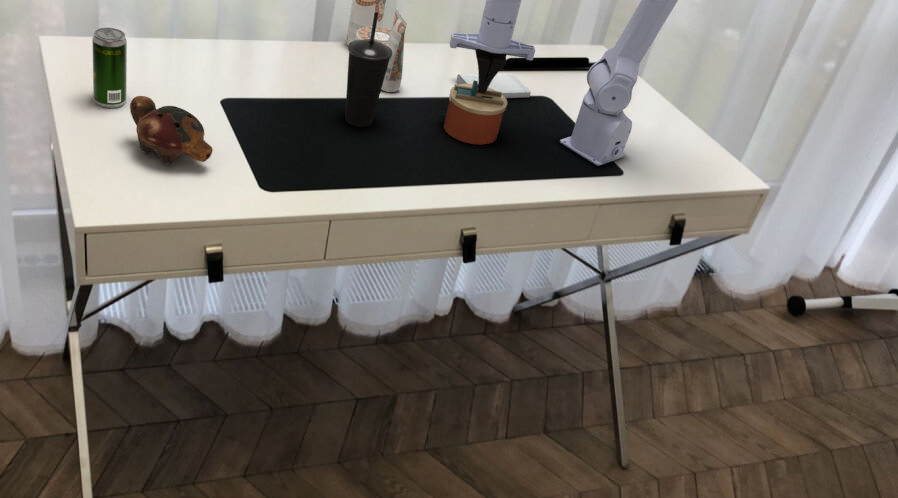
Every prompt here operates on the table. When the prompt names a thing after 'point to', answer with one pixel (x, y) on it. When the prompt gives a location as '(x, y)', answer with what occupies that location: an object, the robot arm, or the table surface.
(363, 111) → the drinking cup
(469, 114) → the brown and beige cylinder
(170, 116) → the decorative turtle
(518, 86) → the hard drive
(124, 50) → the beer can
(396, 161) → the table surface
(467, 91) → the slider
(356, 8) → the cosmetic set
